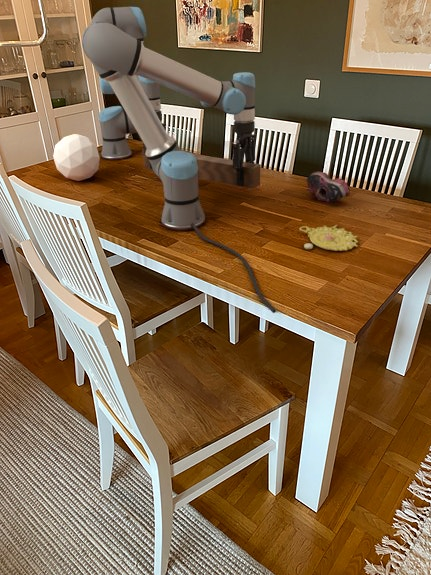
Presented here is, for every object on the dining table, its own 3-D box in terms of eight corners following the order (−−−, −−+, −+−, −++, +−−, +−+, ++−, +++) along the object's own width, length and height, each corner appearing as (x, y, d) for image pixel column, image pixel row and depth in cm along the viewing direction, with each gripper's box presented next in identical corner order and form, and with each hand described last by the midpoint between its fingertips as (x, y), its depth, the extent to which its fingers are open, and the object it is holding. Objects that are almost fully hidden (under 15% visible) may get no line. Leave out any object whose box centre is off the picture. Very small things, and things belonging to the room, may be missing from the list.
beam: (260, 184, 170) (260, 164, 166) (253, 189, 167) (253, 168, 162) (152, 164, 196) (150, 146, 192) (144, 168, 192) (141, 150, 188)
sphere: (86, 196, 198) (71, 170, 180) (54, 175, 203) (36, 147, 184) (114, 167, 203) (101, 138, 185) (82, 146, 208) (67, 116, 189)
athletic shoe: (315, 170, 179) (291, 178, 175) (351, 165, 160) (325, 173, 156) (321, 198, 182) (297, 206, 178) (356, 196, 163) (330, 204, 159)
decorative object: (343, 255, 128) (285, 234, 139) (342, 262, 130) (284, 241, 140) (372, 230, 142) (317, 213, 152) (371, 237, 143) (316, 219, 153)
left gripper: (144, 115, 171) (150, 174, 183) (173, 107, 184) (177, 162, 196) (129, 113, 174) (136, 171, 187) (159, 105, 187) (164, 160, 200)
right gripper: (247, 114, 167) (247, 174, 179) (221, 125, 154) (223, 189, 166) (265, 116, 163) (264, 177, 176) (240, 127, 150) (240, 192, 163)
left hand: (157, 167), depth 191 cm, fingers closed on beam, 5 cm apart
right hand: (244, 183), depth 171 cm, fingers closed on beam, 5 cm apart
